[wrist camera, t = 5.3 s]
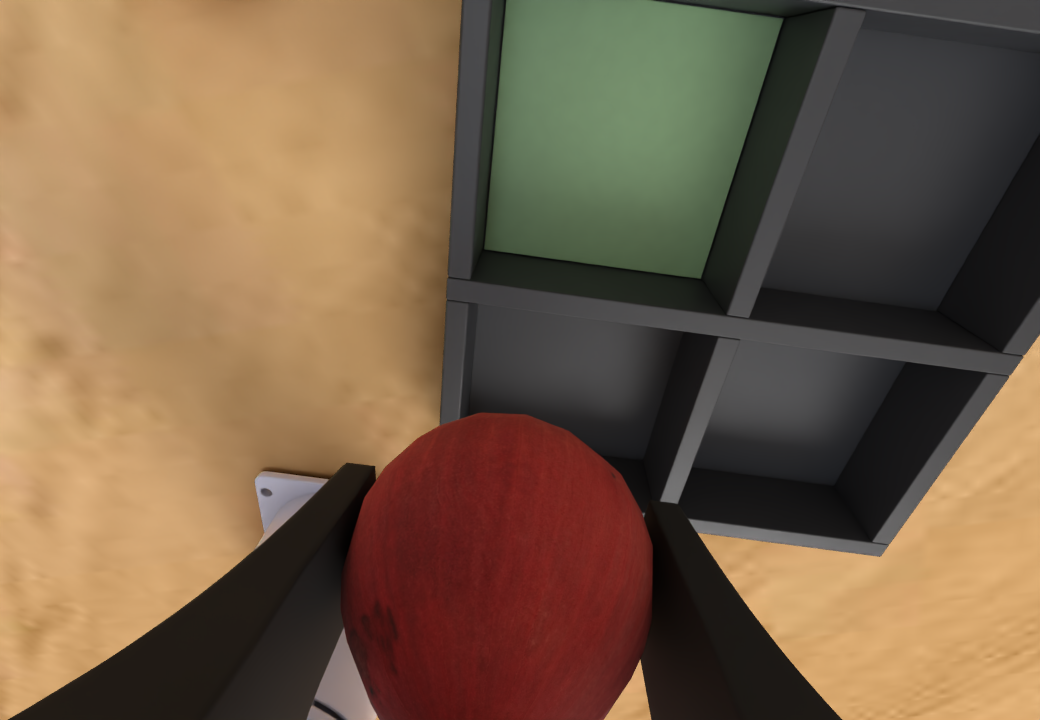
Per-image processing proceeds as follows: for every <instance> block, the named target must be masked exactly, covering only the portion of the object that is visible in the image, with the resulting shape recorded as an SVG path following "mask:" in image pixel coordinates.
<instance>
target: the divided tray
mask: <svg viewBox="0 0 1040 720" xmlns="http://www.w3.org/2000/svg"><path fill="white" fill-rule="evenodd" d="M446 298H447V300H446V312H445V332H444V351H443V370H442V389H441V408H440V425H442V424H446V423H449V422H452V421H455V420H458V419H462V418H465V417H468V416H471V415H474V414H478V413H503V414H526V415H529V416H532V417H534V418H537V419H539V420H542V421H544V422H547V423H550V424H552V425H555V426H557V427H560V428H563V429H565V430H568V431H570V432H571V433H572V434H574V435H575V436H576V437H577V438H579V439H580V440H581V441H582V442H584V443H585V444H586V445H587V446H589V447H590V448H591V449H592V450H594V451H595V452H596V453H597V454H598V455H600V456H601V457H602V458H603V459H604V460H606V461H607V462H608V463H609V464H610V465H611V466H612V467H613V468H615V469H616V470H617V471H618V472H619V473H620V474H621V475H622V477H623V479H624V480H625V482H626V484H627V486H628V488H629V490H630V491H631V493H632V495H633V497H634V499H635V501H636V503H637V504H638V506H639V508H640V510H641V512H642V514H643V518H644V515H645V512H646V509H647V506H648V503H649V500H653V501H661V502H669V503H677V504H678V505H679V506H680V507H681V509H682V510H683V512H684V513H685V515H686V516H687V518H688V520H689V521H690V523H691V524H692V526H693V527H694V529H695V530H696V532H697V533H703V534H711V535H719V536H726V537H734V538H742V539H749V540H757V541H764V542H772V543H780V544H787V545H795V546H802V547H810V548H818V549H825V550H833V551H841V552H848V553H856V554H863V555H871V556H879V557H880V556H881V555H882V554H883V553H884V551H885V550H886V548H887V547H888V546H889V544H890V543H891V542H892V540H893V539H894V537H895V536H896V535H897V533H898V532H899V530H900V529H901V528H902V526H903V525H904V523H905V522H906V521H907V519H908V518H909V516H910V515H911V514H912V512H913V511H914V509H915V508H916V507H917V505H918V504H919V503H920V501H921V500H922V498H923V497H924V496H925V494H926V493H927V491H928V490H929V489H930V487H931V486H932V484H933V483H934V482H935V480H936V479H937V477H938V476H939V475H940V473H941V472H942V470H943V469H944V468H945V466H946V465H947V463H948V462H949V461H950V459H951V458H952V456H953V455H954V454H955V452H956V451H957V449H958V448H959V447H960V445H961V444H962V442H963V441H964V440H965V438H966V437H967V435H968V434H969V433H970V431H971V430H972V429H973V427H974V426H975V424H976V423H977V422H978V420H979V419H980V417H981V416H982V415H983V413H984V412H985V410H986V409H987V408H988V406H989V405H990V403H991V402H992V401H993V399H994V398H995V396H996V395H997V394H998V392H999V391H1000V389H1001V388H1002V387H1003V385H1004V384H1005V382H1006V381H1007V380H1008V378H1009V376H1008V375H1011V374H1012V373H1013V371H1014V370H1015V368H1016V367H1017V366H1018V364H1019V363H1020V361H1021V360H1022V359H1023V356H1022V355H1025V354H1026V353H1027V351H1028V350H1029V349H1030V347H1031V346H1032V344H1033V343H1034V342H1035V340H1036V339H1037V337H1038V336H1039V335H1040V0H462V7H461V26H460V45H459V65H458V84H457V103H456V122H455V141H454V160H453V179H452V198H451V218H450V237H449V256H448V278H447V291H446Z"/></svg>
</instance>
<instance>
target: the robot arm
mask: <svg viewBox="0 0 1040 720" xmlns="http://www.w3.org/2000/svg"><path fill="white" fill-rule="evenodd" d="M375 481H376V474H375V466H369V465H361V464H353V463H346V464H345V465H343V466H342V467H341V468H340V469H339V470H338V471H337V472H336V473H335V474H334V475H333V476H332V477H331V478H330V479H323V478H315V477H307V476H300V475H292V474H285V473H277V472H269V471H263V472H260V473H259V475H258V476H257V477H256V479H255V487H256V492H257V497H258V502H259V508H260V513H261V518H262V523H263V529H264V535H263V536H262V538H261V540H260V541H259V543H258V544H257V546H256V548H255V549H254V551H253V552H251V553H250V554H249V555H248V556H247V557H246V558H244V559H243V560H242V561H241V562H240V563H238V564H237V565H236V566H235V567H234V568H233V569H231V570H230V571H229V572H228V573H227V574H225V575H224V576H223V577H222V578H220V579H219V580H218V581H217V582H215V583H214V584H213V585H212V586H210V587H209V588H208V589H207V590H205V591H204V592H203V593H201V594H200V595H199V596H197V597H196V598H195V599H193V600H192V601H191V602H189V603H188V604H187V605H185V606H184V607H183V608H181V609H180V610H179V611H177V612H176V613H175V614H173V615H172V616H170V617H169V618H168V619H166V620H165V621H163V622H162V623H160V624H159V625H158V626H156V627H155V628H153V629H152V630H150V631H149V632H147V633H146V634H145V635H143V636H142V637H140V638H139V639H137V640H136V641H134V642H133V643H131V644H130V645H129V646H127V647H126V648H124V649H123V650H121V651H120V652H118V653H116V654H115V655H113V656H112V657H110V658H109V659H107V660H106V661H104V662H103V663H101V664H100V665H98V666H96V667H95V668H93V669H91V670H90V671H88V672H87V673H85V674H83V675H82V676H80V677H78V678H77V679H75V680H73V681H72V682H70V683H68V684H67V685H65V686H64V687H62V688H60V689H59V690H57V691H55V692H54V693H52V694H50V695H49V696H47V697H45V698H44V699H42V700H41V701H39V702H37V703H36V704H34V705H32V706H31V707H29V708H27V709H26V710H24V711H22V712H20V713H19V714H17V715H15V716H13V717H12V718H10V719H8V720H376V717H377V714H376V712H375V711H374V709H373V707H372V705H371V704H370V701H369V698H368V696H367V693H366V690H365V688H364V685H363V683H362V680H361V677H360V675H359V672H358V670H357V667H356V664H355V662H354V659H353V656H352V654H351V651H350V649H349V646H348V643H347V640H346V635H345V629H344V624H343V619H342V614H341V574H342V570H343V567H344V563H345V559H346V556H347V552H348V549H349V546H350V542H351V539H352V535H353V532H354V529H355V525H356V522H357V519H358V516H359V513H360V510H361V507H362V503H363V500H364V497H365V496H366V494H367V493H368V492H369V490H370V489H371V487H372V486H373V484H374V483H375ZM268 489H269V490H268ZM644 521H645V524H646V527H647V530H648V533H649V536H650V539H651V542H652V545H653V575H652V621H651V625H650V629H649V633H648V637H647V641H646V644H645V648H644V652H643V654H642V656H641V658H640V659H641V665H642V670H643V676H644V681H645V687H646V692H647V697H648V703H649V708H650V714H651V719H652V720H842V719H841V718H840V717H839V716H838V715H837V714H836V712H835V711H834V710H833V709H832V708H831V707H830V706H829V705H828V704H827V703H826V702H825V701H824V699H823V698H822V697H821V696H820V695H819V694H818V693H817V691H816V690H815V689H814V688H813V687H812V686H811V685H810V683H809V682H808V681H807V680H806V679H805V678H804V677H803V676H802V674H801V673H800V672H799V671H798V670H797V669H796V667H795V666H794V665H793V664H792V663H791V661H790V660H789V659H788V658H787V657H786V655H785V654H784V653H783V652H782V650H781V649H780V648H779V647H778V645H777V644H776V643H775V642H774V640H773V639H772V638H771V637H770V635H769V634H768V633H767V631H766V630H765V629H764V628H763V626H762V625H761V624H760V622H759V621H758V620H757V618H756V617H755V616H754V614H753V613H752V612H751V610H750V609H749V608H748V606H747V605H746V604H745V602H744V601H743V599H742V598H741V597H740V595H739V594H738V592H737V591H736V590H735V588H734V587H733V585H732V584H731V583H730V581H729V580H728V578H727V577H726V576H725V574H724V573H723V571H722V570H721V568H720V567H719V565H718V564H717V562H716V561H715V559H714V558H713V556H712V555H711V553H710V552H709V550H708V549H707V547H706V546H705V544H704V543H703V541H702V540H701V538H700V537H699V535H698V534H697V532H696V530H695V529H694V527H693V526H692V524H691V523H690V521H689V520H688V518H687V516H686V515H685V513H684V512H683V510H682V509H681V507H680V506H679V505H678V504H677V503H669V502H661V501H653V500H649V503H648V506H647V509H646V512H645V515H644Z"/></svg>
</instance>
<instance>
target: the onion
mask: <svg viewBox="0 0 1040 720" xmlns="http://www.w3.org/2000/svg"><path fill="white" fill-rule="evenodd" d="M652 575H653V545H652V542H651V539H650V536H649V533H648V530H647V527H646V524H645V521H644V518H643V514H642V512H641V510H640V508H639V506H638V504H637V503H636V501H635V499H634V497H633V495H632V493H631V491H630V490H629V488H628V486H627V484H626V482H625V480H624V479H623V477H622V475H621V474H620V473H619V472H618V471H617V470H616V469H615V468H613V467H612V466H611V465H610V464H609V463H608V462H607V461H606V460H604V459H603V458H602V457H601V456H600V455H598V454H597V453H596V452H595V451H594V450H592V449H591V448H590V447H589V446H587V445H586V444H585V443H584V442H582V441H581V440H580V439H579V438H577V437H576V436H575V435H574V434H572V433H571V432H570V431H568V430H565V429H563V428H560V427H557V426H555V425H552V424H550V423H547V422H544V421H542V420H539V419H537V418H534V417H532V416H529V415H526V414H503V413H478V414H474V415H471V416H468V417H465V418H462V419H458V420H455V421H452V422H449V423H446V424H442V425H440V426H438V427H436V428H435V429H433V430H431V431H429V432H428V433H426V434H424V435H422V436H421V437H419V438H417V439H416V440H415V441H414V442H413V443H412V444H411V445H410V446H408V447H407V448H406V449H405V450H404V451H403V452H402V453H401V454H399V455H398V456H397V457H396V458H395V459H394V460H393V461H392V462H390V463H389V464H388V465H387V466H386V467H385V468H384V470H383V471H382V473H381V474H380V476H379V477H378V478H377V480H376V481H375V483H374V484H373V486H372V487H371V489H370V490H369V492H368V493H367V494H366V496H365V497H364V500H363V503H362V507H361V510H360V513H359V516H358V519H357V522H356V525H355V529H354V532H353V535H352V539H351V542H350V546H349V549H348V552H347V556H346V559H345V563H344V567H343V570H342V574H341V614H342V619H343V624H344V629H345V635H346V640H347V643H348V646H349V649H350V651H351V654H352V656H353V659H354V662H355V664H356V667H357V670H358V672H359V675H360V677H361V680H362V683H363V685H364V688H365V690H366V693H367V696H368V698H369V701H370V704H371V705H372V707H373V709H374V711H375V712H376V714H377V716H378V718H379V719H380V720H604V718H605V717H606V715H607V714H608V712H609V711H610V709H611V708H612V706H613V705H614V703H615V702H616V700H617V699H618V697H619V696H620V694H621V693H622V691H623V690H624V688H625V687H626V685H627V684H628V682H629V681H630V679H631V678H632V676H633V673H634V671H635V669H636V667H637V665H638V663H639V660H640V658H641V656H642V654H643V652H644V648H645V644H646V641H647V637H648V633H649V629H650V625H651V621H652Z"/></svg>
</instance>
